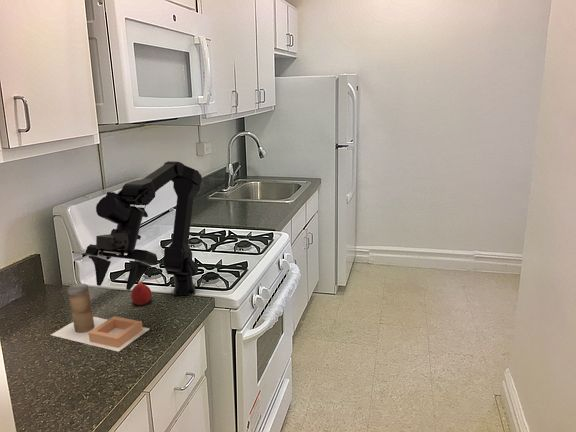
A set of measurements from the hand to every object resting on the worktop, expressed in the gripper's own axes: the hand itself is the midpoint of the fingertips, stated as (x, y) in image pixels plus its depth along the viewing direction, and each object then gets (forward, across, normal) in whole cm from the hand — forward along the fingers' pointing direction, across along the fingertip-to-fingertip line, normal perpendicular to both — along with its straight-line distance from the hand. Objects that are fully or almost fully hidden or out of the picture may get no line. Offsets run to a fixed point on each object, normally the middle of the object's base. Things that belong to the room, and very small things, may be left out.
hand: (113, 287), depth 125 cm
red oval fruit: (+3, -7, +24) cm, 25 cm away
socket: (+12, -1, +7) cm, 14 cm away
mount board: (+12, -6, +8) cm, 16 cm away
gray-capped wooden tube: (+11, -12, +8) cm, 18 cm away
